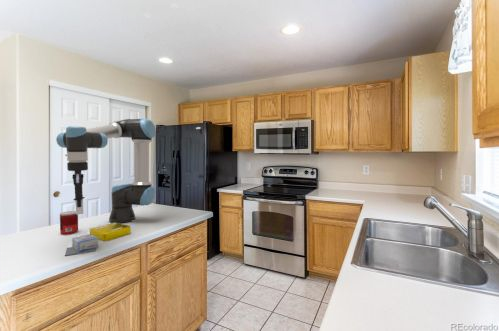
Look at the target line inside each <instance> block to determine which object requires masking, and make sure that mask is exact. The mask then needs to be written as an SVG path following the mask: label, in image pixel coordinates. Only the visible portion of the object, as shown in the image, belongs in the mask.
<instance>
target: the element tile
mask: <svg viewBox="0 0 499 331" xmlns="http://www.w3.org/2000/svg"><path fill="white" fill-rule="evenodd" d="M131 233H132V232H131V226H130V225H128V224H124V223H107V224H103V225H99V226H94V227H92V228H91V227H90V229H89V234H92V235H93V236H95V237H97V238H98V241H99V240H100V241H103V242H108V241H111V240H115V239H117V238H122V237H124V236H128V235H131Z"/></svg>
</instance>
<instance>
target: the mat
mask: <svg viewBox="0 0 499 331" xmlns="http://www.w3.org/2000/svg"><path fill="white" fill-rule="evenodd" d="M93 252H96V248H92V249H88V250H84V251H81V252H78V251H77V250H75V249H74V248H73V247H72V246H71V247H66V250H65V254H64V257H71V256H75V255H81V254H87V253H93Z"/></svg>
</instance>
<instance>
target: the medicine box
mask: <svg viewBox="0 0 499 331" xmlns="http://www.w3.org/2000/svg"><path fill="white" fill-rule="evenodd" d="M71 242H72V243H71V244H72V246H71V247H73V248H74V249H75V250H77V251H78V252H81V251H84V250H88V249H92V248H95V249H97V248H99V240H98V238H97V237H95V236H93V235H92V234H90V233H89V234H86V235H80V236H77V237H72V240H71Z"/></svg>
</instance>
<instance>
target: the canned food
mask: <svg viewBox="0 0 499 331" xmlns="http://www.w3.org/2000/svg"><path fill="white" fill-rule="evenodd" d="M59 227H60V228H59V229H60V234H61V235H63V236H65V235H72V234H76V233H78V232H79V214H76V210H70V211H69V210H68V211H67V210H66V211H63V212H61V213H59Z"/></svg>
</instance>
